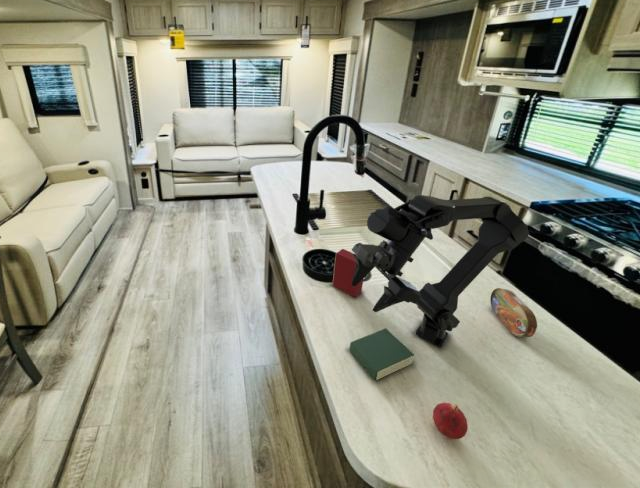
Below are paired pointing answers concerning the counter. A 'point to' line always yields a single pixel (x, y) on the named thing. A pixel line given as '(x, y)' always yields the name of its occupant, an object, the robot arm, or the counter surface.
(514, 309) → the tin
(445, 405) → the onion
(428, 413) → the counter surface
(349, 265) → the paperback
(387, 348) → the hardcover
